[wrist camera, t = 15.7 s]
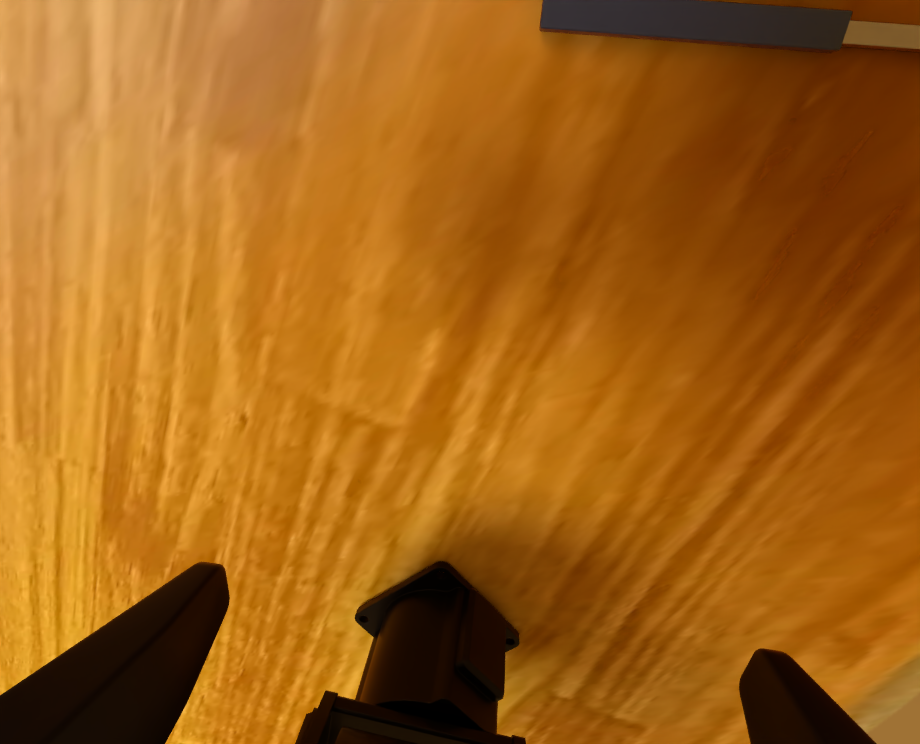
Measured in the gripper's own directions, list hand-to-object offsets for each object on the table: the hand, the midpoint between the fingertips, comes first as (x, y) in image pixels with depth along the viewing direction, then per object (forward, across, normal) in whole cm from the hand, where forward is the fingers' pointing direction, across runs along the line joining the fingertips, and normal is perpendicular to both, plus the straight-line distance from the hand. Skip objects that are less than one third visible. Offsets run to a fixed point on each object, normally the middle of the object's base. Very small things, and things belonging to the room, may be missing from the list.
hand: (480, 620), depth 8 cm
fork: (+14, -8, -11) cm, 19 cm away
